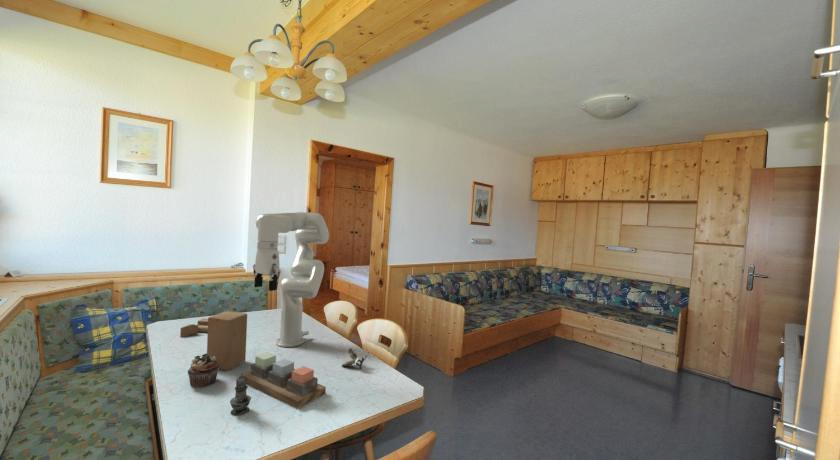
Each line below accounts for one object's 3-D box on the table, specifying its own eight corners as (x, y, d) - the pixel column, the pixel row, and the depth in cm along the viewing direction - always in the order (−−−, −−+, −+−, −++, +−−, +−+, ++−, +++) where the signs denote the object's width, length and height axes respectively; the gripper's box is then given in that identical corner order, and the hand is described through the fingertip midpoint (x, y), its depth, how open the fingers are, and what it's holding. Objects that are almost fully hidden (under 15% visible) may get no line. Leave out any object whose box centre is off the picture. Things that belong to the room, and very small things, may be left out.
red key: (303, 377, 122) (303, 366, 122) (313, 381, 119) (313, 369, 119) (291, 382, 118) (291, 371, 117) (301, 387, 115) (302, 375, 115)
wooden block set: (201, 316, 182) (235, 318, 182) (201, 326, 182) (234, 329, 182) (178, 326, 165) (215, 328, 165) (177, 337, 166) (215, 340, 165)
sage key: (267, 362, 132) (267, 352, 132) (275, 365, 129) (276, 355, 129) (254, 366, 128) (255, 356, 128) (263, 370, 125) (264, 359, 125)
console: (270, 370, 136) (271, 355, 136) (325, 393, 121) (326, 376, 121) (241, 381, 126) (241, 365, 126) (297, 409, 111) (298, 390, 111)
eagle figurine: (367, 361, 148) (349, 353, 151) (366, 351, 144) (347, 343, 146) (358, 376, 142) (339, 368, 145) (356, 366, 138) (337, 358, 141)
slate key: (284, 369, 127) (284, 358, 127) (293, 373, 124) (294, 362, 124) (272, 374, 123) (272, 363, 122) (281, 378, 120) (282, 367, 120)
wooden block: (227, 371, 134) (229, 319, 133) (205, 367, 136) (207, 317, 135) (245, 361, 143) (247, 313, 143) (224, 357, 145) (226, 310, 145)
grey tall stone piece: (234, 405, 111) (236, 368, 110) (253, 406, 111) (255, 369, 111) (225, 416, 105) (227, 377, 104) (246, 416, 105) (247, 377, 105)
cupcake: (225, 378, 128) (226, 352, 127) (202, 391, 118) (203, 362, 118) (204, 374, 130) (205, 348, 130) (180, 386, 121) (181, 357, 121)
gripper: (289, 247, 137) (286, 290, 137) (263, 244, 146) (261, 284, 146) (272, 247, 130) (269, 293, 131) (246, 244, 140) (244, 286, 140)
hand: (265, 288), depth 138 cm, fingers open, 9 cm apart
